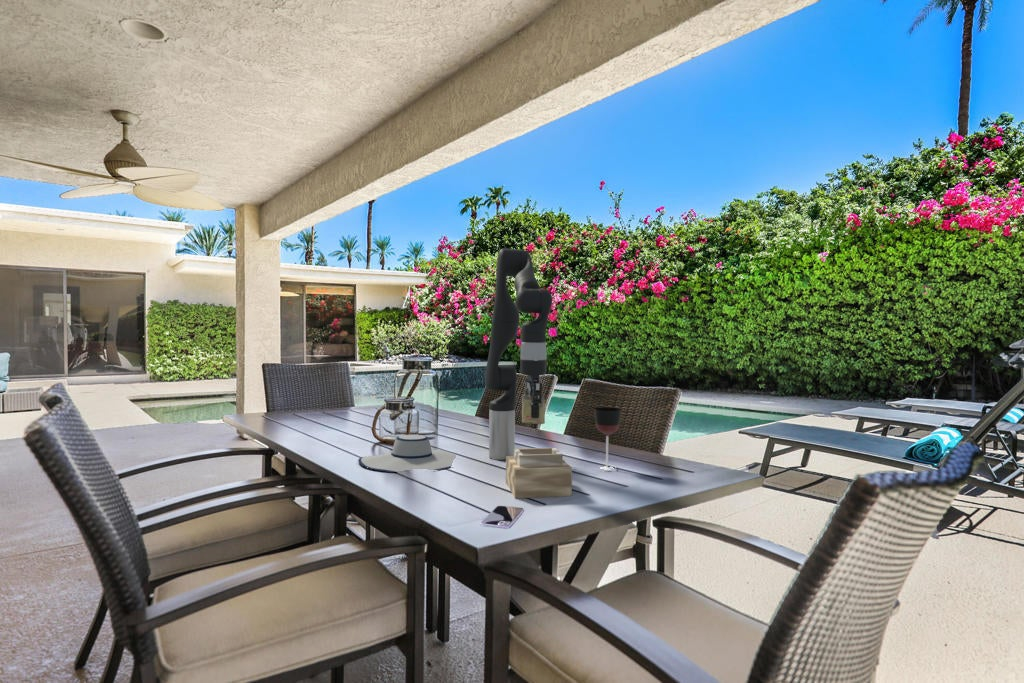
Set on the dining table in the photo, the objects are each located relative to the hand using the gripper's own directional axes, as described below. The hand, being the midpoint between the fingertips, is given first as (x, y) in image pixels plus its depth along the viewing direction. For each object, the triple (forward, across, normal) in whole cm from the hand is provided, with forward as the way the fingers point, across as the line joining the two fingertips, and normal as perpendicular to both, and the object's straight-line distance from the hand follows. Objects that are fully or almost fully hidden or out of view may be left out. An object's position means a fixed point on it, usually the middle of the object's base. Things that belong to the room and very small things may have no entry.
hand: (533, 416), depth 169 cm
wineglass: (+22, -20, +29) cm, 42 cm away
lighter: (+2, 0, 0) cm, 2 cm away
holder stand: (+21, 0, +2) cm, 21 cm away
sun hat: (+22, -41, -35) cm, 59 cm away
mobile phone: (+22, +23, -12) cm, 34 cm away
